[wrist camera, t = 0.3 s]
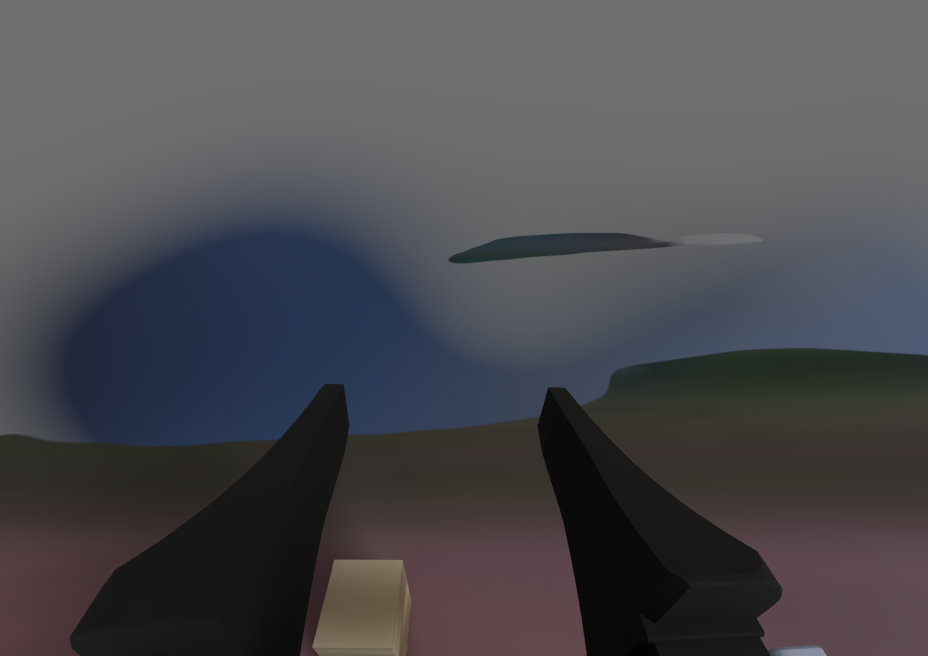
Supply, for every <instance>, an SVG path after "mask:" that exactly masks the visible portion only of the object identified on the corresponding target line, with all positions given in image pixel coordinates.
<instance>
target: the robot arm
mask: <svg viewBox="0 0 928 656" xmlns="http://www.w3.org/2000/svg"><path fill="white" fill-rule="evenodd" d="M348 429H349V420H348V412H347V405H346V398H345V392H344V385H342V384H325V385H324V386H323V387H322V388H321V389H320V391H319V392H318V393H317V395H316V396H315V397H314V399H313V400H312V401H311V403H310V404H309V405H308V407H307V408H306V409H305V410H304V411H303V413H302V414H301V415H300V416H299V417H298V419H297V420H296V421H295V422H294V423H293V425H292V426H291V427H290V428H289V429H288V430H287V432H286V433H285V434H284V435H283V436H282V437H281V438H280V439H279V440H278V441H277V442H276V443H275V445H274V446H273V447H272V448H271V449H270V450H269V451H268V452H267V453H266V454H265V455H264V456H263V457H262V458H261V459H260V460H259V461H258V462H257V463H256V464H255V465H254V466H253V467H252V468H251V469H250V470H249V471H248V472H247V473H245V474H244V475H243V476H242V477H241V478H240V479H239V480H238V481H237V482H236V483H234V484H233V485H232V486H231V487H230V488H229V489H227V490H226V491H225V492H224V493H223V494H222V495H220V496H219V497H218V498H217V499H216V500H214V501H213V502H212V503H211V504H209V505H208V506H207V507H206V508H204V509H203V510H202V511H200V512H199V513H198V514H196V515H195V516H194V517H192V518H191V519H190V520H188V521H187V522H186V523H184V524H183V525H182V526H180V527H179V528H178V529H176V530H175V531H173V532H172V533H171V534H169V535H168V536H166V537H165V538H164V539H162V540H161V541H159V542H158V543H156V544H155V545H153V546H152V547H150V548H148V549H147V550H145V551H144V552H142V553H141V554H139V555H138V556H136V557H135V558H133V559H132V560H130V561H129V562H127V563H126V564H124V565H122V566H121V567H119V568H118V569H116V570H115V571H114V572H113V574H112V575H111V577H110V578H109V579H108V580H107V582H106V583H105V584H104V586H103V587H102V588H101V590H100V591H99V593H98V595H97V596H96V598H95V599H94V601H93V602H92V604H91V605H90V607H89V608H88V610H87V612H86V613H85V615H84V616H83V618H82V619H81V621H80V622H79V624H78V626H77V627H76V629H75V630H74V632H73V633H72V635H71V636H70V644H71V647H72V649H73V650H74V651H75V652H77V653H78V654H79V655H81V656H300V651H301V644H302V638H303V631H304V625H305V620H306V614H307V608H308V602H309V596H310V590H311V585H312V580H313V574H314V569H315V564H316V558H317V553H318V548H319V543H320V538H321V533H322V529H323V525H324V521H325V517H326V514H327V510H328V507H329V504H330V500H331V497H332V494H333V490H334V487H335V484H336V480H337V477H338V474H339V470H340V467H341V463H342V460H343V457H344V453H345V448H346V442H347V436H348ZM538 431H539V437H540V443H541V448H542V453H543V457H544V460H545V463H546V467H547V470H548V473H549V476H550V479H551V483H552V486H553V489H554V492H555V495H556V499H557V502H558V505H559V508H560V511H561V515H562V519H563V522H564V526H565V531H566V536H567V541H568V546H569V550H570V555H571V560H572V566H573V571H574V576H575V582H576V587H577V593H578V599H579V605H580V611H581V617H582V624H583V631H584V637H585V644H586V651H587V656H826V654H825V653H824V651H823V650H822V648H820V647H818V646H816V645H814V646H795V647H781V648H775V649H771V650H769V651H767V649H766V648H765V646H764V644H763V642H762V641H761V639H760V637H763V636H764V630H763V629H762V627H761V625H760V624H759V622H758V620H757V617H759V616H760V615H761V614H763V613H764V612H765V611H767V610H768V609H769V608H770V607H772V606H773V605H774V604H775V603H776V602H777V601H779V600H780V597H781V595H782V588H781V586H780V584H779V583H778V581H777V580H776V578H775V577H774V575H773V574H772V572H771V571H770V569H769V568H768V566H767V565H766V563H765V562H764V560H763V559H762V557H761V556H760V555H759V553H758V552H757V551H756V550H754V549H752V548H751V547H749V546H747V545H746V544H744V543H743V542H741V541H739V540H738V539H736V538H734V537H733V536H731V535H729V534H728V533H726V532H724V531H723V530H721V529H720V528H718V527H716V526H715V525H713V524H712V523H711V522H709V521H708V520H706V519H705V518H703V517H702V516H700V515H699V514H697V513H696V512H694V511H693V510H692V509H690V508H689V507H687V506H686V505H685V504H683V503H682V502H680V501H679V500H678V499H677V498H675V497H674V496H673V495H671V494H670V493H669V492H667V491H666V490H665V489H664V488H662V487H661V486H660V485H659V484H657V483H656V482H655V481H654V480H652V479H651V478H650V477H649V476H648V475H647V474H646V473H644V472H643V471H642V470H641V469H640V468H639V467H638V466H636V465H635V464H634V463H633V462H632V461H631V460H630V459H629V458H628V457H627V456H626V455H625V454H624V453H623V452H622V451H621V450H620V449H619V448H618V447H617V446H616V445H615V444H614V443H613V442H612V441H611V440H610V439H609V438H608V437H607V436H606V435H605V434H604V433H603V431H602V430H601V429H600V428H599V427H598V426H597V425H596V424H595V423H594V421H593V420H592V419H591V418H590V417H589V416H588V415H587V413H586V412H585V411H584V410H583V409H582V408H581V406H580V405H579V404H578V403H577V402H576V400H575V399H574V398H573V397H572V396H571V394H570V393H569V392H568V391H567V390H566V389H565V388H548V391H547V394H546V398H545V402H544V405H543V409H542V413H541V416H540V420H539V423H538Z"/></svg>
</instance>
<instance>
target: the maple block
mask: <svg viewBox="0 0 928 656" xmlns="http://www.w3.org/2000/svg"><path fill="white" fill-rule="evenodd" d="M410 610H411V598H410V593H409V588H408V583H407V578H406V574H405V569H404V564H403V560H334V563H333V567H332V571H331V575H330V579H329V583H328V587H327V591H326V595H325V599H324V603H323V607H322V611H321V615H320V619H319V623H318V627H317V631H316V635H315V639H314V643H313V647H312V648H313V649H314V650H315V651H316V652H317V654H318V655H319V656H406V652H407V642H408V631H409V621H410Z"/></svg>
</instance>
